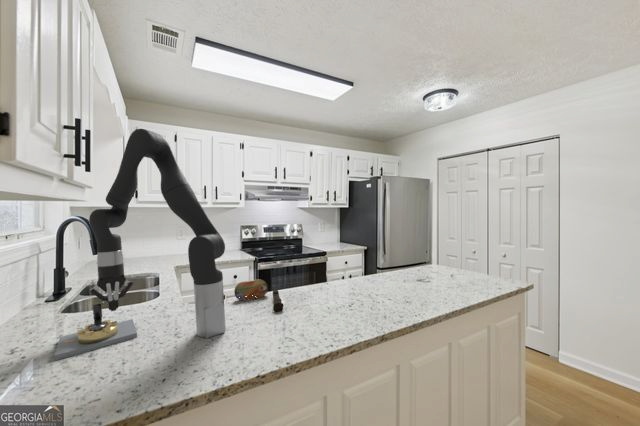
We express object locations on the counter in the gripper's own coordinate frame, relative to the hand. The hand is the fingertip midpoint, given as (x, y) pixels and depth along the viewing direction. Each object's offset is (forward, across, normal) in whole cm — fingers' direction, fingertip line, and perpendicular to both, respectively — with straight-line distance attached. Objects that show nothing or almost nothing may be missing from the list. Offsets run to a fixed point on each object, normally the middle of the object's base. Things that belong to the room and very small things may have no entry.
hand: (113, 310), depth 99 cm
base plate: (+7, -5, -7) cm, 11 cm away
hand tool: (+7, +52, -28) cm, 59 cm away
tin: (+7, +50, -12) cm, 51 cm away
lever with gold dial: (+5, -5, -6) cm, 9 cm away
